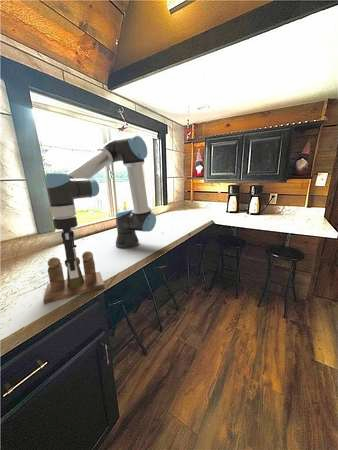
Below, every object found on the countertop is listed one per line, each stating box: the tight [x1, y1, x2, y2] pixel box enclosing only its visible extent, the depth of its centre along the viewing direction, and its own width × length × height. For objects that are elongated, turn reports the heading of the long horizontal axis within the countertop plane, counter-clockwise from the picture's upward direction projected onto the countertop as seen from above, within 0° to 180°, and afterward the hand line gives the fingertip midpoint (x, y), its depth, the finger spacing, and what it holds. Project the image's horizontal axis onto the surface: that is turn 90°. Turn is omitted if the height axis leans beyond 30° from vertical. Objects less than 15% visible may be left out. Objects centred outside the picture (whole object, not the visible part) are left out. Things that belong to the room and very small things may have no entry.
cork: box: [64, 256, 84, 288], centre depth 71 cm, size 6×6×11 cm
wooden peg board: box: [43, 250, 105, 304], centre depth 71 cm, size 20×12×14 cm, turn 118°
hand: (74, 270), depth 71 cm, fingers open, 13 cm apart
